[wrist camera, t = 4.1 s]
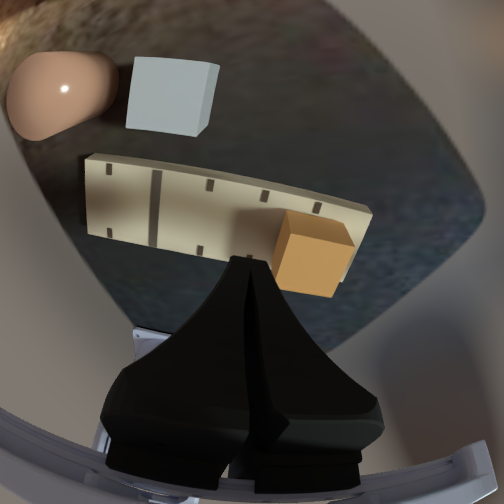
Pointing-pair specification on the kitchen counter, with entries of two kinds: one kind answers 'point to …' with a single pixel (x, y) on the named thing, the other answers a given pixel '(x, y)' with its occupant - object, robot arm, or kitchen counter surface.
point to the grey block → (171, 95)
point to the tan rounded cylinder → (60, 91)
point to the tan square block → (311, 254)
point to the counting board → (202, 208)
